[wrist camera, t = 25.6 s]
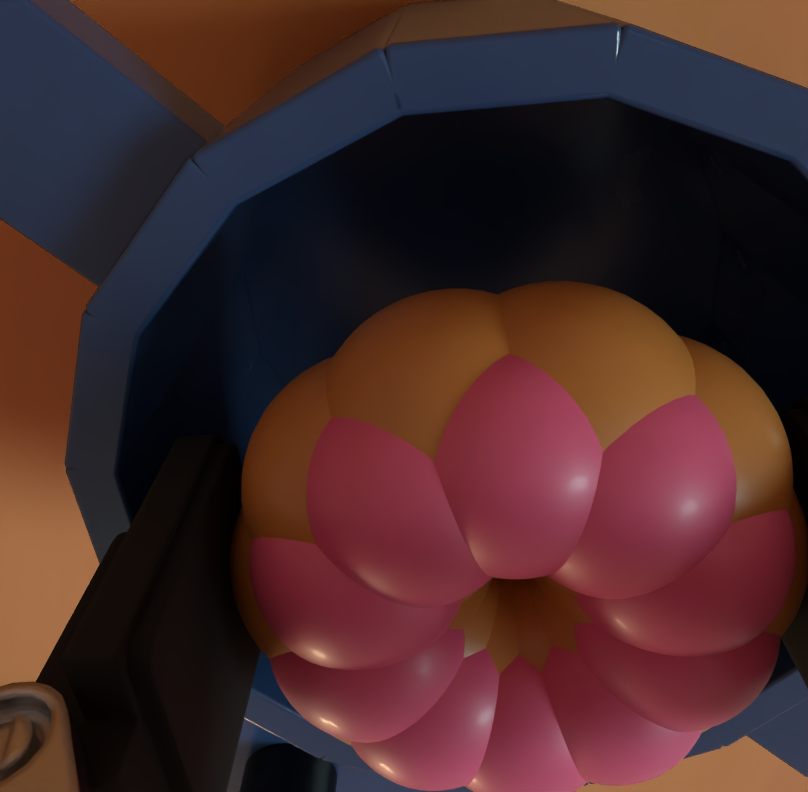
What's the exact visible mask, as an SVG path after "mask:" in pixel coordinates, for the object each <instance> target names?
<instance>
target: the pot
mask: <svg viewBox="0 0 808 792" xmlns="http://www.w3.org/2000/svg"><path fill="white" fill-rule="evenodd" d="M0 219H1V220H3V221H4V222H6V223H7V224H9V225H10V226H11V227H13V228H14V229H16V230H17V231H19V232H20V233H22V234H23V235H24V236H26V237H27V238H29V239H30V240H32V241H33V242H34V243H36V244H37V245H39V246H40V247H42V248H43V249H45V250H46V251H47V252H49V253H50V254H52V255H53V256H55V257H56V258H58V259H59V260H60V261H62V262H63V263H65V264H66V265H68V266H69V267H71V268H72V269H73V270H75V271H76V272H78V273H79V274H81V275H82V276H84V277H85V278H86V279H88V280H89V281H91V282H92V283H94V284H95V285H97V286H98V288H97V290H96V291H95V293H94V294H93V296H92V297H91V299H90V300H89V301H88V303H87V304H86V310H85V311H84V312H83V314H82V318H81V327H80V336H79V344H78V353H77V361H76V370H75V379H74V387H73V396H72V404H71V413H70V422H69V430H68V439H67V447H66V456H65V466H66V473H67V476H68V479H69V481H70V484H71V487H72V489H73V492H74V495H75V498H76V500H77V503H78V506H79V509H80V511H81V514H82V517H83V520H84V522H85V525H86V528H87V530H88V533H89V536H90V539H91V541H92V544H93V547H94V550H95V552H96V555H97V558H98V561H99V563H101V561H102V559H103V557H104V556H105V554H106V552H107V550H108V548H109V546H110V545H111V543H112V541H113V540H114V539H115V537H116V536H117V535H118V534H120V533H122V532H127V531H128V529H129V527H130V525H131V523H132V522H133V520H134V518H135V516H136V514H137V512H138V510H139V508H140V506H141V505H142V503H143V501H144V499H145V497H146V495H147V493H148V491H149V489H150V487H151V486H152V484H153V482H154V480H155V478H156V476H157V474H158V472H159V470H160V469H161V467H162V465H163V463H164V461H165V459H166V457H167V455H168V453H169V451H170V450H171V448H172V446H173V444H174V442H175V440H176V439H177V438H178V437H181V436H195V435H211V434H219V435H221V436H222V438H223V440H224V442H225V444H231V443H234V444H235V445H236V446H237V448H238V452H239V455H240V460H241V464H242V469H243V464H244V458H245V454H246V450H247V447H248V444H249V441H250V438H251V436H252V433H253V431H254V429H255V427H256V426H257V424H258V422H259V420H260V418H261V416H262V414H263V412H264V411H265V410H266V408H267V407H268V406H269V404H270V403H271V401H272V400H273V399H274V398H275V397H276V396H277V394H278V393H279V392H280V391H281V390H282V389H283V388H284V387H285V386H286V385H287V384H288V383H289V382H290V381H292V380H293V379H294V378H296V377H297V376H298V375H300V374H301V373H302V372H304V371H305V370H307V369H309V368H310V367H312V366H314V365H316V364H318V363H319V362H321V361H323V360H325V359H328V358H330V357H333V356H334V355H335V353H336V352H337V351H338V350H339V348H340V347H341V346H342V344H343V343H344V342H345V341H346V339H347V338H348V337H349V336H350V335H351V334H352V333H353V332H354V331H355V330H356V329H357V328H358V327H359V326H360V325H361V324H362V323H363V322H364V321H366V320H367V319H368V318H370V317H371V316H372V315H374V314H375V313H377V312H378V311H380V310H382V309H384V308H385V307H387V306H389V305H391V304H393V303H395V302H397V301H399V300H402V299H404V298H407V297H409V296H412V295H415V294H419V293H423V292H427V291H432V290H440V289H451V288H466V289H475V290H483V291H487V292H491V293H495V294H500V293H502V292H505V291H507V290H510V289H512V288H515V287H519V286H523V285H527V284H531V283H538V282H546V281H573V282H582V283H589V284H594V285H598V286H602V287H606V288H609V289H612V290H614V291H617V292H619V293H622V294H625V295H627V296H628V297H630V298H632V299H634V300H635V301H637V302H639V303H641V304H642V305H644V306H646V307H647V308H649V309H650V310H651V311H653V312H654V313H655V314H657V315H658V316H659V317H660V318H662V319H663V320H664V321H665V322H666V323H667V324H668V325H669V326H670V327H671V328H672V330H673V331H674V332H675V333H676V334H677V335H679V336H683V337H687V338H690V339H693V340H695V341H698V342H700V343H703V344H706V345H707V346H709V347H711V348H713V349H715V350H716V351H718V352H720V353H722V354H723V355H725V356H726V357H728V358H730V359H731V360H732V361H733V362H735V363H736V364H737V365H739V366H740V367H741V368H743V369H744V370H745V371H746V372H747V374H748V375H749V376H750V377H751V378H752V379H753V380H754V381H755V382H756V383H757V384H758V385H759V386H760V387H761V388H762V389H763V391H764V393H765V394H766V396H767V397H768V399H769V400H770V402H771V403H772V405H773V406H774V408H775V410H776V411H777V413H779V411H781V410H783V409H789V408H790V405H791V404H792V402H793V400H795V399H796V398H803V397H808V88H806V87H803V86H801V85H798V84H795V83H792V82H790V81H787V80H784V79H781V78H779V77H776V76H773V75H770V74H768V73H765V72H762V71H759V70H757V69H754V68H751V67H748V66H746V65H743V64H740V63H737V62H735V61H732V60H729V59H726V58H724V57H721V56H718V55H715V54H713V53H710V52H707V51H704V50H702V49H699V48H696V47H693V46H691V45H688V44H685V43H683V42H680V41H677V40H674V39H672V38H669V37H666V36H663V35H661V34H658V33H655V32H652V31H650V30H647V29H644V28H641V27H639V26H636V25H633V24H630V23H627V22H624V21H621V20H618V19H614V18H611V17H608V16H605V15H602V14H599V13H595V12H592V11H589V10H586V9H583V8H580V7H576V6H573V5H570V4H567V3H564V2H561V1H557V0H445V1H434V2H424V3H414V4H408V5H407V6H406V7H404V6H403V7H399V8H398V9H396V10H394V11H392V12H391V13H389V14H387V15H386V16H384V17H382V18H380V19H379V20H377V21H375V22H374V23H372V24H370V25H368V26H367V27H365V28H363V29H361V30H359V31H357V32H355V33H353V34H352V35H350V36H349V37H347V38H346V39H344V40H343V41H341V42H339V43H337V44H336V45H334V46H332V47H331V48H329V49H327V50H325V51H324V52H322V53H320V54H319V55H317V56H315V57H313V58H312V59H310V60H308V61H307V62H305V63H303V64H301V65H300V66H299V67H298V68H297V69H295V70H294V71H293V72H292V73H290V74H289V75H288V76H287V77H285V78H284V79H283V80H282V81H281V82H279V83H278V84H277V85H276V86H274V87H273V88H272V89H271V90H269V91H268V92H267V93H266V94H265V95H263V96H262V97H261V98H260V99H258V100H257V101H256V102H255V103H253V104H252V105H251V106H250V107H249V108H247V109H246V110H245V111H244V112H242V113H241V114H240V115H239V116H237V117H236V118H235V119H234V120H233V121H231V122H230V123H229V124H228V125H226V126H224V125H223V124H221V123H220V122H219V121H218V120H216V119H215V118H214V117H213V116H211V115H210V114H209V113H208V112H206V111H205V110H204V109H203V108H201V107H200V106H199V105H198V104H197V103H195V102H194V101H193V100H192V99H190V98H189V97H188V96H187V95H185V94H184V93H183V92H182V91H180V90H179V89H178V88H177V87H175V86H174V85H173V84H172V83H171V82H169V81H168V80H167V79H166V78H164V77H163V76H162V75H161V74H159V73H158V72H157V71H156V70H154V69H153V68H152V67H151V66H149V65H148V64H147V63H146V62H144V61H143V60H142V59H141V58H140V57H138V56H137V55H136V54H135V53H133V52H132V51H131V50H130V49H128V48H127V47H126V46H125V45H123V44H122V43H121V42H120V41H118V40H117V39H116V38H115V37H114V36H112V35H111V34H110V33H109V32H107V31H106V30H105V29H104V28H102V27H101V26H100V25H99V24H97V23H96V22H95V21H94V20H92V19H91V18H90V17H89V16H87V15H86V14H85V13H84V12H83V11H81V10H80V9H79V8H78V7H76V6H75V5H74V4H73V3H71V2H70V1H69V0H0ZM244 719H246V720H248V721H250V722H251V723H253V724H255V725H257V726H259V727H261V728H263V729H264V730H266V731H268V732H270V733H272V734H274V735H276V736H277V737H279V738H281V739H283V740H285V741H287V742H288V743H290V744H292V745H294V746H296V747H298V748H300V749H301V750H303V751H305V752H307V753H309V754H311V755H313V756H314V757H316V758H322V760H324V761H328V762H332V763H337V764H341V765H346V766H350V767H355V768H359V769H363V770H368V771H372V772H375V771H374V770H373V769H372V768H370V767H369V766H368V765H367V764H366V763H365V762H364V761H363V760H362V759H361V758H360V757H359V756H358V754H357V753H356V751H355V750H354V749H353V747H352V746H350V745H348V744H346V743H344V742H342V741H341V740H339V739H337V738H335V737H334V736H332V735H330V734H328V733H326V732H324V731H322V730H320V729H319V728H317V727H315V726H314V725H312V724H311V723H310V722H308V721H307V720H306V719H304V718H303V717H302V716H301V715H300V714H299V713H298V712H297V711H296V710H295V709H294V708H293V706H292V705H291V704H290V702H289V701H288V700H287V698H286V697H285V695H284V694H283V692H282V691H281V689H280V687H279V685H278V683H277V680H276V678H275V675H274V673H273V670H272V667H271V663H270V660H269V658H268V657H267V656H266V655H265V654H264V653H263V652H262V651H260V655H259V659H258V663H257V667H256V671H255V676H254V680H253V684H252V688H251V692H250V696H249V700H248V705H247V709H246V713H245V717H244ZM745 735H746V736H748V737H749V738H751V739H752V740H754V741H755V742H757V743H758V744H759V745H761V746H762V747H764V748H765V749H767V750H768V751H769V752H771V753H772V754H774V755H775V756H777V757H778V758H780V759H781V760H782V761H784V762H785V763H787V764H788V765H790V766H791V767H793V768H794V769H795V770H797V771H798V772H800V773H801V774H803V775H804V776H806V777H808V688H807V686H806V684H805V683H804V681H803V679H802V677H801V675H800V673H799V671H798V669H797V667H796V665H795V664H794V662H793V660H792V658H791V656H790V654H789V652H788V650H787V648H786V646H785V645H784V643H783V641H782V639H781V640H780V648H779V655H778V658H777V661H776V665H775V667H774V670H773V673H772V675H771V677H770V679H769V681H768V682H767V684H766V685H765V687H764V688H763V690H762V691H761V693H760V694H759V696H758V697H757V698H756V699H755V700H754V701H753V702H752V703H751V704H750V705H749V706H748V707H747V708H745V709H744V710H743V711H742V712H741V713H739V714H738V715H736V716H735V717H733V718H731V719H730V720H728V721H726V722H724V723H721V724H719V725H717V726H714V727H711V728H710V729H708V730H706V731H705V732H703V733H701V735H700V737H699V739H698V740H697V742H696V743H695V745H694V746H693V747H692V749H691V750H690V752H689V753H688V754H687V755H686V756H685V757H684V758H688V757H691V756H695V755H699V754H702V753H706V752H709V751H713V750H716V749H720V748H721V747H722V746H729V745H730V744H732V743H734V742H735V741H737V740H739V739H740V738H742V737H744V736H745ZM684 758H683V759H684ZM588 783H590V784H595V783H591V782H587V783H586V784H585V785H583V786H586V785H588ZM455 789H468V788H467V787H464V786H462V787H459V788H455Z"/></svg>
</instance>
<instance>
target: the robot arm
mask: <svg viewBox="0 0 808 792" xmlns="http://www.w3.org/2000/svg"><path fill="white" fill-rule="evenodd" d="M778 415H779V417H780V420H781V422H782V424H783V427H784V429H785V432H786V435H787V438H788V442H789V446H790V450H791V454H792V465H793V480H794V483H793V489H794V491H795V492H796V495H797V497H798V499H799V501H800V503H801V506H802V509H803V512H804V515H805V518H806V522H807V526H808V397H803V398H796V399H795V400H793V402H792V404H791V405H790V408H789V409H783V410H781V411H779V413H778ZM242 470H243V469H242V464H241V460H240V455H239V452H238V448H237V446H236V445H235V444H234V443H231V444H225V442H224V440H223V438H222V436H221V435H219V434H211V435H195V436H181V437H178V438H177V439H176V440H175V442H174V444H173V446H172V448H171V450H170V451H169V453H168V455H167V457H166V459H165V461H164V463H163V465H162V467H161V469H160V470H159V472H158V474H157V476H156V478H155V480H154V482H153V484H152V486H151V487H150V489H149V491H148V493H147V495H146V497H145V499H144V501H143V503H142V505H141V506H140V508H139V510H138V512H137V514H136V516H135V518H134V520H133V522H132V523H131V525H130V527H129V529H128V531H127V532H122V533H120V534H118V535H117V536H116V537H115V539H114V540H113V541H112V543H111V545H110V546H109V548H108V550H107V552H106V554H105V556H104V557H103V559H102V561H101V563H100V565H99V567H98V568H97V570H96V572H95V574H94V576H93V578H92V580H91V581H90V583H89V585H88V587H87V589H86V591H85V592H84V594H83V596H82V598H81V600H80V602H79V603H78V605H77V607H76V609H75V611H74V613H73V614H72V616H71V618H70V620H69V622H68V624H67V625H66V627H65V629H64V631H63V633H62V635H61V636H60V638H59V640H58V642H57V644H56V646H55V647H54V649H53V651H52V653H51V655H50V657H49V658H48V660H47V662H46V664H45V666H44V668H43V669H42V671H41V673H40V675H39V677H38V679H37V680H36V682H19V683H11V684H7V685H4V686H0V792H227V787H228V783H229V779H230V775H231V771H232V767H233V763H234V758H235V754H236V750H237V746H238V742H239V738H240V734H241V729H242V725H243V721H244V717H245V713H246V709H247V705H248V700H249V696H250V692H251V688H252V684H253V680H254V676H255V671H256V667H257V663H258V659H259V655H260V651H261V650H260V649H259V647H258V646H257V644H256V643H255V642H254V640H253V639H252V637H251V636H250V634H249V633H248V631H247V629H246V627H245V625H244V623H243V622H242V619H241V617H240V614H239V611H238V608H237V606H236V603H235V600H234V596H233V590H232V584H231V577H230V551H231V542H232V536H233V532H234V527H235V523H236V521H237V518H238V515H239V512H240V510H241V508H242V502H241V482H242ZM781 639H782V641H783V643H784V645H785V646H786V648H787V650H788V652H789V654H790V656H791V658H792V660H793V662H794V664H795V665H796V667H797V669H798V671H799V673H800V675H801V677H802V679H803V681H804V683H805V684H806V686H807V688H808V585H807V588H806V591H805V594H804V597H803V600H802V603H801V606H800V608H799V610H798V612H797V614H796V616H795V618H794V620H793V621H792V623H791V624H790V626H789V627H788V629H787V630H786V631H785V633H784V634H783V636H782V637H781Z"/></svg>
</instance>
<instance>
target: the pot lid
mask: <svg viewBox="0 0 808 792" xmlns="http://www.w3.org/2000/svg"><path fill="white" fill-rule="evenodd" d="M227 792H473V791H471V790H470V789H450V790H442V791H425V790H417V789H412V788H408V787H404V786H401V785H399V784H396V783H394V782H392V781H390V780H388V779H386V778H385V777H383V776H381V775H380V774H378V773H377V772H372V771H368V770H363V769H359V768H355V767H350V766H346V765H341V764H337V763H332V762H328V761H324V760H322V758H316V757H314V756H313V755H311V754H309V753H307V752H305V751H303V750H301V749H300V748H298V747H296V746H294V745H292V744H290V743H288V742H287V741H285V740H283V739H281V738H279V737H277V736H276V735H274V734H272V733H270V732H268V731H266V730H264V729H263V728H261V727H259V726H257V725H255V724H253V723H251V722H250V721H248V720H246V719H244V721H243V725H242V729H241V734H240V738H239V742H238V746H237V750H236V754H235V758H234V763H233V767H232V771H231V775H230V779H229V783H228V787H227Z"/></svg>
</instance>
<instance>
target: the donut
mask: <svg viewBox="0 0 808 792" xmlns="http://www.w3.org/2000/svg"><path fill="white" fill-rule="evenodd" d="M793 483H794V480H793V465H792V454H791V450H790V446H789V442H788V438H787V435H786V432H785V429H784V427H783V424H782V422H781V420H780V417H779V415H778V413H777V411H776V410H775V408H774V406H773V405H772V403H771V402H770V400H769V399H768V397H767V396H766V394H765V393H764V391H763V389H762V388H761V387H760V386H759V385H758V384H757V383H756V382H755V381H754V380H753V379H752V378H751V377H750V376H749V375H748V374H747V372H746V371H745V370H744V369H743V368H741V367H740V366H739V365H737V364H736V363H735V362H733V361H732V360H731V359H730V358H728V357H726V356H725V355H723V354H722V353H720V352H718V351H716V350H715V349H713V348H711V347H709V346H707V345H706V344H703V343H700V342H698V341H695V340H693V339H690V338H687V337H683V336H679V335H677V334H676V333H675V332H674V331H673V330H672V328H671V327H670V326H669V325H668V324H667V323H666V322H665V321H664V320H663V319H662V318H660V317H659V316H658V315H657V314H655V313H654V312H653V311H651V310H650V309H649V308H647V307H646V306H644V305H642V304H641V303H639V302H637V301H635V300H634V299H632V298H630V297H628V296H627V295H625V294H622V293H619V292H617V291H614V290H612V289H609V288H606V287H602V286H598V285H594V284H589V283H582V282H573V281H546V282H538V283H531V284H527V285H523V286H519V287H515V288H512V289H510V290H507V291H505V292H502V293H500V294H495V293H491V292H487V291H483V290H475V289H466V288H451V289H440V290H432V291H427V292H423V293H419V294H415V295H412V296H409V297H407V298H404V299H402V300H399V301H397V302H395V303H393V304H391V305H389V306H387V307H385V308H384V309H382V310H380V311H378V312H377V313H375V314H374V315H372V316H371V317H370V318H368V319H367V320H366V321H364V322H363V323H362V324H361V325H360V326H359V327H358V328H357V329H356V330H355V331H354V332H353V333H352V334H351V335H350V336H349V337H348V338H347V339H346V341H345V342H344V343H343V344H342V346H341V347H340V348H339V350H338V351H337V352H336V353H335V355H334V356H333V357H330V358H328V359H325V360H323V361H321V362H319V363H318V364H316V365H314V366H312V367H310V368H309V369H307V370H305V371H304V372H302V373H301V374H300V375H298V376H297V377H296V378H294V379H293V380H292V381H290V382H289V383H288V384H287V385H286V386H285V387H284V388H283V389H282V390H281V391H280V392H279V393H278V394H277V396H276V397H275V398H274V399H273V400H272V401H271V403H270V404H269V406H268V407H267V408H266V410H265V411H264V412H263V414H262V416H261V418H260V420H259V422H258V424H257V426H256V427H255V429H254V431H253V433H252V436H251V438H250V441H249V444H248V447H247V450H246V454H245V458H244V464H243V470H242V482H241V502H242V508H241V510H240V512H239V515H238V518H237V521H236V523H235V527H234V532H233V536H232V542H231V551H230V577H231V584H232V590H233V596H234V600H235V603H236V606H237V608H238V611H239V614H240V617H241V619H242V622H243V623H244V625H245V627H246V629H247V631H248V633H249V634H250V636H251V637H252V639H253V640H254V642H255V643H256V644H257V646H258V647H259V649H260V650H261V651H262V652H263V653H264V654H265V655H266V656H267V657H268V658H269V660H270V663H271V667H272V670H273V673H274V675H275V678H276V680H277V683H278V685H279V687H280V689H281V691H282V692H283V694H284V695H285V697H286V698H287V700H288V701H289V702H290V704H291V705H292V706H293V708H294V709H295V710H296V711H297V712H298V713H299V714H300V715H301V716H302V717H303V718H304V719H306V720H307V721H308V722H310V723H311V724H312V725H314V726H315V727H317V728H319V729H320V730H322V731H324V732H326V733H328V734H330V735H332V736H334V737H335V738H337V739H339V740H341V741H342V742H344V743H346V744H348V745H350V746H352V747H353V749H354V750H355V751H356V753H357V754H358V756H359V757H360V758H361V759H362V760H363V761H364V762H365V763H366V764H367V765H368V766H369V767H370V768H372V769H373V770H374V771H375V772H377V773H378V774H380V775H381V776H383V777H385V778H386V779H388V780H390V781H392V782H394V783H396V784H399V785H401V786H404V787H408V788H412V789H417V790H425V791H442V790H450V789H455V788H459V787H462V786H464V787H467V788H468V789H470V790H471V791H473V792H575V791H576V790H578V789H579V788H581V787H582V786H583V785H585V784H586V783H587V782H591V783H595V784H600V785H613V786H619V785H630V784H636V783H640V782H644V781H647V780H650V779H653V778H655V777H658V776H660V775H662V774H663V773H665V772H667V771H668V770H670V769H671V768H673V767H674V766H675V765H676V764H677V763H679V762H680V761H681V760H682V759H683V758H684V757H685V756H686V755H687V754H688V753H689V752H690V750H691V749H692V747H693V746H694V745H695V743H696V742H697V740H698V739H699V737H700V735H701V733H703V732H705V731H706V730H708V729H710V728H711V727H714V726H717V725H719V724H721V723H724V722H726V721H728V720H730V719H731V718H733V717H735V716H736V715H738V714H739V713H741V712H742V711H743V710H744V709H745V708H747V707H748V706H749V705H750V704H751V703H752V702H753V701H754V700H755V699H756V698H757V697H758V696H759V694H760V693H761V691H762V690H763V688H764V687H765V685H766V684H767V682H768V681H769V679H770V677H771V675H772V673H773V670H774V667H775V665H776V661H777V658H778V655H779V648H780V640H781V637H782V636H783V634H784V633H785V631H786V630H787V629H788V627H789V626H790V624H791V623H792V621H793V620H794V618H795V616H796V614H797V612H798V610H799V608H800V606H801V603H802V600H803V597H804V594H805V591H806V588H807V585H808V526H807V522H806V518H805V515H804V512H803V509H802V506H801V503H800V501H799V499H798V497H797V495H796V492H795V491H794V489H793Z"/></svg>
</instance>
